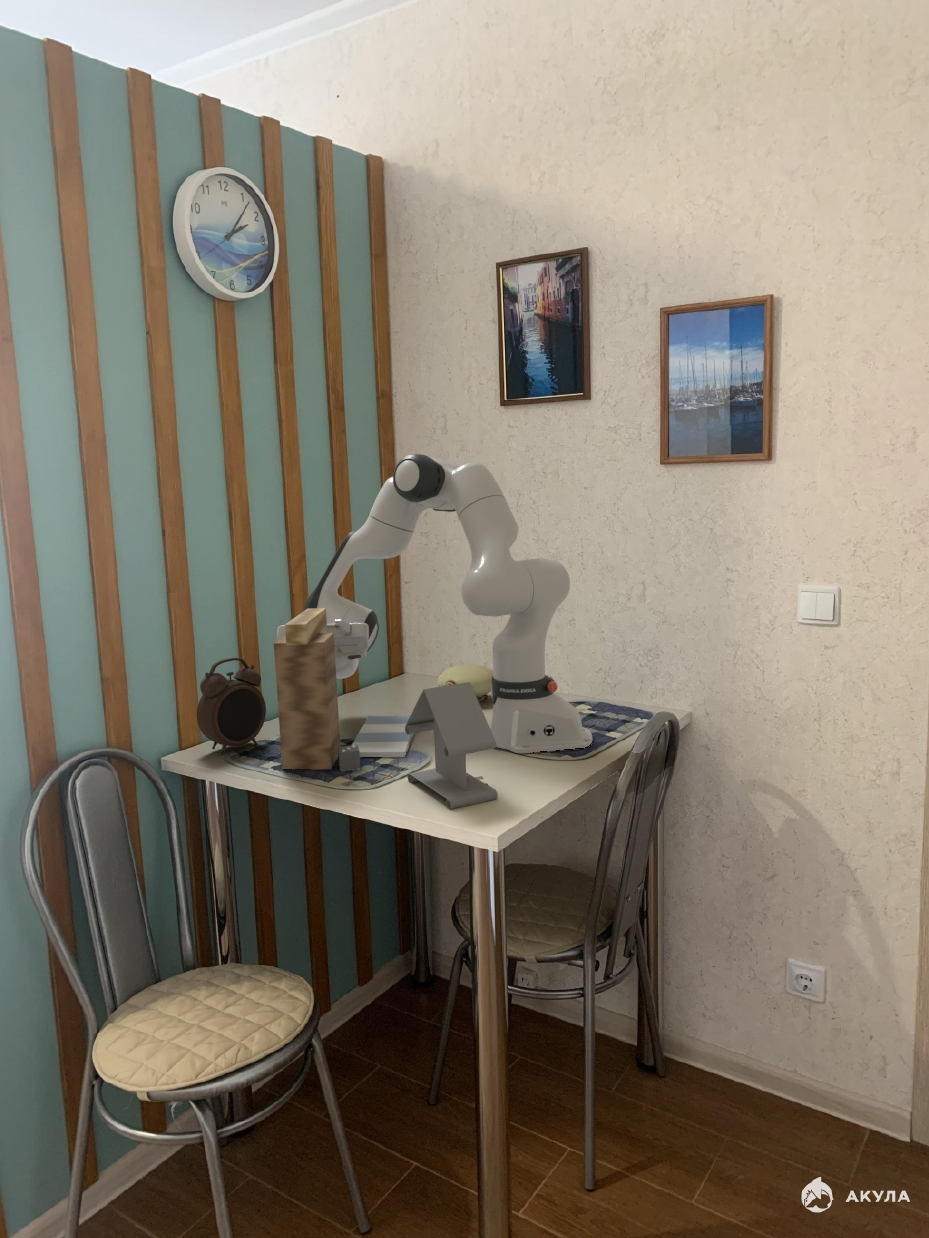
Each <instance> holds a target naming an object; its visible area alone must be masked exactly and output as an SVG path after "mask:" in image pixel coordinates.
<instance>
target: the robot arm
mask: <svg viewBox="0 0 929 1238" xmlns="http://www.w3.org/2000/svg"><path fill="white" fill-rule="evenodd" d="M427 509H432V510H433V511H435V512H445V513H447V512H448V513H451V512H453V513H454V512H455V513H456V515H457V517H458V520H459V522H460V525H461V527H462V529H463V532H464V535H465V537H466V540H467V543H468V545H469V550H470V554H471V555H470V556H471V562H470V563H471V564H470V568H469V569H468V571H467V573H466V574H465V576H464V577H463V580H462V583H461V587H460V588H461V589H460V591H461V598H462V601H463V604H464V605H465V607H466V608H467V610H469V612H470V613H472V615H476V616H482V617H483V616H484V617H495V618H496V617H502V616H507V615H509V618H508V621H507V623H506V624H505V627H504V628H503V629H502V630H501V631H500V632H499V633H498V634H497V635H495V638H494V639H493V641H492V670H493V677H492V681H491V692H490V695H491V703H492V715H491V716H492V717H491V723H490V729H491V732H492V734H493V736H494V739H495V741H496V748H499V749H504V750H509V751H510V752H513V753H516V754H530V753H532V754H533V752H534V753H541V752H540V751H547V752H557V751H556V750H560V751H565V750H564V749H573V750H576V749H575V748H584V749H586V748H585V747H587V746H589V745H590V744H591V743H592V741H594V740H593V734H592V732H591V731H590V729H588V728H586V727H584V726H583V723H582V718H581V715H580V713H579V711H578V710H577V708H576V707H575V706H574V705H573V704H571V703H569V701H567V700H566V699H564V698H563V697H561V696H560V695H559V694H557V693H556V692H557V690H558V683H557V682H556V681H555V679H553V677H552V676H551V675H550V676H548V675H546V674H545V673H546V669H545V668H546V666H545V665H546V664H545V663H546V659H545V658H546V657H545V656H546V639H547V635H548V631H549V628H550V624H551V622H552V619H553V617H554V615H555V613H556V611H557V609H558V608H559V606H561V604H562V603H563V602H564V601H565V600H566V598H568V596H569V592H570V588H571V587H570V586H571V581H570V576H569V575H570V574H569V572H568V571H567V570H568V569H566V567H565V566H564V565H563V564H562V563H561V562H559V561H557V560H553V559H546V558H529V559H523V560H522V559H521V560H514V558H513V556H512V554H511V550H510V548H511V547H512V546H513V544H514V543H515V542H516V541H517V538H518V534H519V526H518V524H517V521H516V519H515V517H514V515H513V511H512V510H511V508H510V506H509V503H508V501H507V499H506V497H505V495H504V493H503V491H502V488H501V487H500V485H499V483H498V482H497V480H496V478H495V477H494V475H493V474H492V472H490V470H489V468H488V467H486V466H485V465H484V464H483V463H480V462H474V461H473V462H467V463H464V464H461V465H460V466H459V465H456V464H454V463H451V462H448V461H446V460H445V459H440V458H437V457H433V456H428V455H426V454H419V453H417V454H414V453H413V454H408V455H406V456H404V457H402V458H401V459H400V460H399V461H398V462H397V463H396V466H395V467H394V471H393V474H392V476H391V477H389V478H388V479H386V481H385V482H384V483H383V485H382V487H381V488H380V490H379V492H378V494H377V495H376V498H375V500H374V502H373V505H372V507H371V510H370V512H369V515H368V517H367V519H366V521H365V522H364V524H363V525H362V526H361V527H360V528H359V529H357V530H352V531H350V532H349V533H348V534H347V535H346V536H345V538H344V539H343V540H342V542H341V543H340V545H339V547H338V548H337V550H336V552H335V553H334V554H333V557H332V559H331V560H330V562H329V564H328V565H327V568H326V570H325V571H324V572H323V575H322V576H321V578H320V580H319V581H318V584H317V585H316V586H315V588H313V589H314V590H313V591H312V592H311V593H310V595H309V596H308V598H307V599H306V601H305V603H304V605H303V608H302V612H303V611H305V610H306V609H310V608H326V617H327V627H326V628H325V629H324V630H322V631H321V632H320V633H334V647H335V664H336V679H339V680H340V679H347V678H349V677H352V676H353V675H354V674H355V672H356V671H357V669H358V668H359V664H360V663H359V662H360V658H365V657H367V654H368V652H369V650H370V649H372V646H373V645H374V643H375V641H376V640H377V638H378V634H379V629H380V628H379V627H380V626H379V625H380V624H379V619H378V616H377V615H378V614H377V613H376V612H375V610H373V609H371V608H368V607H366V606H363V605H361V604H360V603H356V602H354V601H352V600H350V599H347V598H346V597H343V596H341V595H339V593H338V589H339V588H340V586H341V585H342V583H343V581H344V579H345V577H346V575H347V574H348V572H349V571H350V568H351V566H353V564H354V563H355V562H356V561H359V560H362V559H363V560H364V559H367V560H368V559H372V560H373V559H374V560H386V559H387V560H389V559H391V558H392V559H393V558H395V557H398V556H399V555H401V554H402V553H403V552H404V551H405V550H406V549H407V548H408V546H409V544H410V542H411V539H412V536H413V535H414V531H415V528H416V526H417V523H418V520H419V518H420V516H421V514H422V513H423V511H425V510H427ZM284 635H285V624H282V625H279V626H278V627H277V630H276V641H277V640H279V639H280V638H281V637H283V636H284ZM592 744H593V743H592ZM592 744H591V745H592ZM589 747H590V746H589Z"/></svg>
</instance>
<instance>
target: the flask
mask: <svg viewBox="0 0 929 1238" xmlns="http://www.w3.org/2000/svg"><path fill="white" fill-rule="evenodd" d="M492 677H493V668H490V667H487V666H484V665H479V664H476V663H462V664H459V665H455V666H451V667H449V668H447V669H446V670H445V671H443V672H442V673H441V674H440V675H439V676H438V679H437V687H442V686H448V685H454V684H461V683H467V682H470V683H471V686H472V688H473V690H474V693H475V695H476V697H477V699H478V697H481V696H482V697H481V698H479V699H478V702H479V703H480V702H482V701H484V700H486V699H485V698H487V699H488V698H489V697H488V696H489V695H488V694H489V693H491V681H492Z"/></svg>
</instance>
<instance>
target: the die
mask: <svg viewBox="0 0 929 1238" xmlns="http://www.w3.org/2000/svg"><path fill="white" fill-rule="evenodd" d="M338 755H339V758H338V766H340V767H339V771H340V770H348V769H357V768H361V758H360V751H359V748H358V745H353V746H351V745H344V746H342V745H341V746H340V747H338Z"/></svg>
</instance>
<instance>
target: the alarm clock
mask: <svg viewBox="0 0 929 1238" xmlns="http://www.w3.org/2000/svg"><path fill="white" fill-rule="evenodd" d="M233 661H234V662H235V661H238V662H241V664H242V665H243V667H242V668H240V669H238V670H237V672H235V673H234V671H229V672H227V673H226V676H227V677H229V678H226V677H225V676H224V675H223V674H221V673H220V672H215V671H216V668H217V667H218V666H220V665H222V664H224V663H227V662H228V663H229V662H233ZM204 676H205V677H203V679H201V682H200V683H199V689H200V692H201V694H202V695H201V697H200V699H199V701H198V704H197V707H196V719H197V720H196V722H197V725H198V728H199V730H200V732H201V733H202V735H204V737H205V738H207V739H208V740H210V741H212V742H213V744H212V745H213V746H212V748H211V749H212V750H215V749H216V747H217V745H220V746H221V750H220V752H219V754H220V755H223V754H224V752H225V750H226V748H227V747H242V746H245V745H247V744H248V743H250V742H253V743H254V745H255V744H257V745H258V744H259V743H258V742H257V741H256V737H257V736H258V735H259V733H260V732H261V730H262V729H263V726H264V723H265V720H266V715H267V714H266V713H267V707H266V701H265V698H264V695H263V693H262V692H261V691H260V690H259V689H258V688H260V687H261V681H262V677H261V674H260V673H259V672H258V671H257V670H255V664H251V665H248V663H247V662H246V660H244V659H243V658H241V657H229V658H224V659H221V660H220V659H219V660H218V661H216V662H214V663H213V664H212V665H211V668H210V671H209V672H205V674H204ZM232 676H233V679H232Z"/></svg>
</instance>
